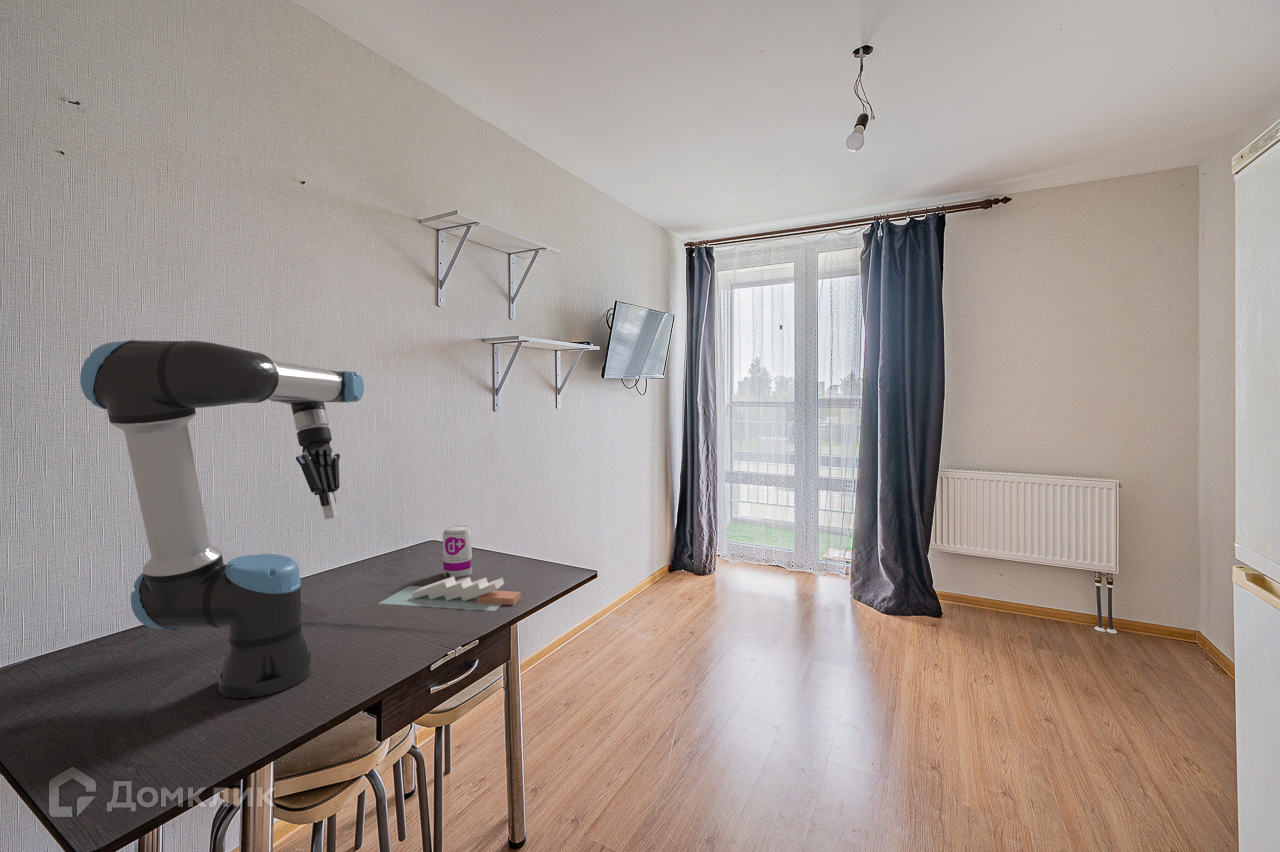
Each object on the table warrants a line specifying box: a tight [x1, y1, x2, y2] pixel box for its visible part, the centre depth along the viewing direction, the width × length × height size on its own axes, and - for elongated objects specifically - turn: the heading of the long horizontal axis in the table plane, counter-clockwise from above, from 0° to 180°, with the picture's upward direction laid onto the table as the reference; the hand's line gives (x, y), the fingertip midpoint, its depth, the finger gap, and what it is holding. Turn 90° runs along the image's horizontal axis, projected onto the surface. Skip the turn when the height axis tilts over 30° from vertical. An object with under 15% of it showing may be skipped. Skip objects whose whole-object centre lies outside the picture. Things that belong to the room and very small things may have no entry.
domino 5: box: [477, 590, 522, 606], centre depth 147 cm, size 2×5×10 cm
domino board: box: [378, 585, 513, 612], centre depth 149 cm, size 14×32×1 cm, turn 80°
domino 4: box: [461, 577, 505, 601], centre depth 147 cm, size 2×5×10 cm
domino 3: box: [445, 577, 489, 601], centre depth 148 cm, size 2×5×10 cm
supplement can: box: [442, 525, 473, 579], centre depth 170 cm, size 8×8×15 cm
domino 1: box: [412, 576, 456, 599], centre depth 150 cm, size 2×5×10 cm
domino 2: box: [428, 576, 473, 600], centre depth 149 cm, size 2×5×10 cm
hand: (331, 517), depth 143 cm, fingers closed
